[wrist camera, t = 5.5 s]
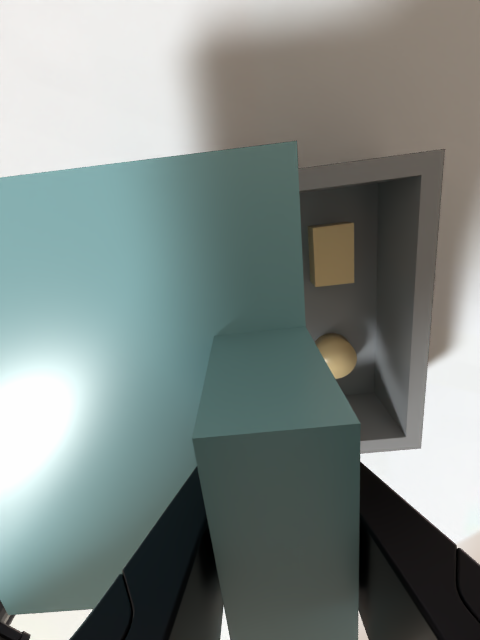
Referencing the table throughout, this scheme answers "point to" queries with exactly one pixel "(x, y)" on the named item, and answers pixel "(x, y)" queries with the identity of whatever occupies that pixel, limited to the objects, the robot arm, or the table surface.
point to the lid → (172, 389)
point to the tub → (374, 285)
